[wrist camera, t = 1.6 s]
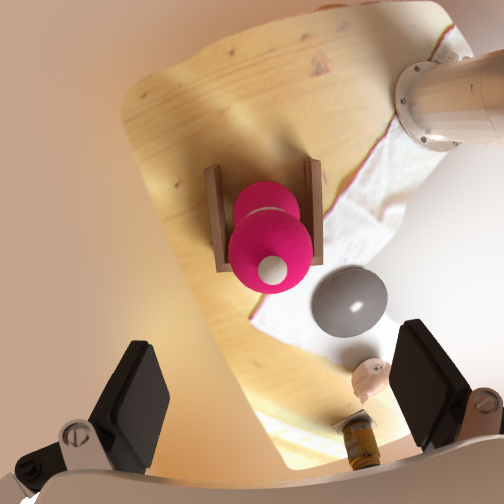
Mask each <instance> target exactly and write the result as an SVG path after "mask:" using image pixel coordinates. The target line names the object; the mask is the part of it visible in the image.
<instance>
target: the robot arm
mask: <svg viewBox="0 0 504 504" xmlns="http://www.w3.org/2000/svg"><path fill="white" fill-rule="evenodd" d="M458 58H459V57H458V55H457V54H456V53H454V52H450V53H449V56H448V60H447V62H445V63H442V64H437V63H433V62H429V61H422V62H418V63H415V64H412V65H410V66H409V67H407V68H406V69H405V70H404V71H403V72H402V73H401V75H400V76H399V78H398V81H397V83H396V88H395V105H396V110H397V114H398V117H399V119H400V122H401V124H402V126H403V127H404V129H405V131H406V132H407V134H408V135H409V136H410V137H411V138H412V139H413V140H414V141H415V142H416V143H417V144H419V145H420V146H422V147H423V148H425V149H427V150H430V151H434V152H449V151H452V150H454V149H456V148H458V147H459V146H460V145H461V144H462V143H463V142H465V143H477V144H485V145H494V146H501V147H504V49H502V50H498V51H494V52H491V53H487V54H483V55H479V56H476V57H472V58H470V57H467V56H464V57H463V59H462V61H458ZM457 61H458V62H457ZM400 100H401V102H402V103H401V102H400ZM421 139H422V141H421ZM389 384H390V387H391V389H392V391H393V393H394V395H395V397H396V400H397V402H398V404H399V406H400V408H401V411H402V413H403V415H404V417H405V420H406V422H407V424H408V427H409V429H410V431H411V434H412V436H413V438H414V441H415V443H416V445H417V446H418V447H421V448H422V451H423V453H422V454H419V455H416V456H412V457H409V458H405V459H402V460H398V461H395V462H391V463H387V464H383V465H379V466H375V467H370V468H366V469H361V470H356V471H351V472H345V473H339V474H333V475H327V476H320V477H312V478H304V479H293V480H282V481H263V482H212V481H196V480H183V479H173V478H163V477H156V476H148V475H145V471H146V468H150V466H151V463H152V460H153V456H154V453H155V449H156V446H157V442H158V439H159V435H160V432H161V428H162V425H163V421H164V418H165V415H166V411H167V408H168V404H169V401H170V395H169V391H168V389H167V386H166V383H165V380H164V378H163V375H162V372H161V369H160V367H159V363H158V360H157V357H156V354H155V352H154V348H153V346H152V345H151V344H148V342H147V341H137V340H134V341H131V343H130V344H129V346H128V348H127V350H126V351H125V353H124V355H123V357H122V359H121V361H120V363H119V364H118V366H117V368H116V370H115V371H114V373H113V374H112V376H111V377H110V379H109V381H108V383H107V385H106V387H105V388H104V390H103V392H102V394H101V396H100V398H99V400H98V402H97V404H96V406H95V408H94V409H93V411H92V413H91V415H90V418H89V419H88V421H86V420H81V419H77V420H72V421H70V422H68V423H66V424H65V425H64V426H63V427H62V428H61V430H60V432H59V435H58V439H59V441H58V442H57V443H54V444H51V445H49V446H47V447H44V448H42V449H39V450H37V451H34V452H32V453H30V454H27V455H25V456H23V457H21V458H20V459H19V460H18V461H17V463H16V465H15V474H11V473H9V474H7V475H6V476H5V477H3V478H2V479H1V480H0V504H504V407H503V401H502V398H501V396H500V395H499V394H498V393H497V392H496V391H494V390H493V389H490V388H478V389H476V390H474V391H472V389H471V388H470V386H469V384H468V383H467V381H466V380H465V378H464V377H463V376H462V374H461V373H460V371H459V370H458V368H457V367H456V366H455V364H454V363H453V362H452V360H451V359H450V357H449V356H448V355H447V353H446V352H445V351H444V349H443V348H442V347H441V346H440V344H439V343H438V342H437V340H436V339H435V338H434V337H433V335H432V334H431V332H430V331H429V330H428V329H427V327H426V326H425V325H424V324H423V323H422V321H421V320H420V319H414V320H408V321H405V322H404V324H403V325H401V326H400V329H399V334H398V339H397V344H396V348H395V353H394V357H393V361H392V365H391V369H390V373H389ZM135 473H137V474H135ZM141 474H143V475H141Z"/></svg>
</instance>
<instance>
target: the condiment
mask: <svg viewBox="0 0 504 504" xmlns="http://www.w3.org/2000/svg"><path fill="white" fill-rule="evenodd" d="M332 427H333V428H334V429H335V430H336V431H337V432H338V433H340V434H341V435H342V436H343V437H344V443H345V447H346V450H347V455H348V459H349V464H350V466H351V467H352V468H353V471H356V470H361V469H366V468H370V467H375V466H379V465H381V464H380V460H379V459H380V454H379V450H378V447H377V443H376V440H375V437H374V434H373V431H372V429H374V428H376V427H378V426H377V425H376V423H375V422H374V421H373V420H372V419H371V418H370V417H369V415H368V414H367V413H366V412H365V411H361V412H359V413H357V414H355V415H353V416H350V417H348V418H346V419H344V420H342V421H340V422H338V423H336V424H334V425H332Z"/></svg>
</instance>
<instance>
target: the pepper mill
mask: <svg viewBox="0 0 504 504" xmlns="http://www.w3.org/2000/svg"><path fill="white" fill-rule="evenodd" d="M233 223H234V226H235V229H234V231H233V233H232V235H231V237H230V241H229V246H228V256H229V262H230V265H231V268H232V270H233V272H234V274H235V275H236V277H237V278H238V279H239V280H240V281H241V282H242V283H243V284H244V285H245V286H246V287H248V288H250V289H252V290H254V291H256V292H260V293H264V294H276V293H281V292H284V291H286V290H289V289H291V288H293V287H294V286H296V285H297V284H298V283H299V282H300V281H301V280H302V279H303V278H304V277H305V275H306V274H307V272H308V270H309V268H310V265H311V262H312V257H313V249H312V242H311V238H310V235H309V233H308V231H307V229H306V228H305V226H304V225H303V224H302V223H301V222H300V210H299V206H298V203H297V200H296V198H295V196H294V195H293V194H292V193H291V191H290V190H288V189H287V188H286V187H284V186H283V185H281V184H278V183H276V182H271V181H262V182H257V183H254V184H252V185H250V186H248V187H246V188H245V189H244V190H243V191H242V192H241V193H240V194H239V195H238V197H237V199H236V201H235V203H234V207H233Z"/></svg>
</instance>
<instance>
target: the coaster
mask: <svg viewBox="0 0 504 504" xmlns="http://www.w3.org/2000/svg"><path fill="white" fill-rule="evenodd" d="M387 298H388V297H387V290H386V287H385V285H384V283H383V281H382V280H381V279H380V278H379V277H378V276H377V275H376V274H375V273H373V272H371V271H369V270H365V269H360V268H353V269H347V270H343V271H341V272H339V273H337V274H335V275H333V276H332V277H330V278H329V279H328V280H327V281H326V282H325V283H324V284H323V285H322V286H321V287H320V289H319V290H318V292H317V294H316V297H315V300H314V306H313V310H314V316H315V319H316V322H317V324H318V325H319V327H320V328H321V329H322V330H323V331H324V332H326V333H327V334H329V335H332V336H335V337H341V338H347V337H353V336H357V335H360V334H362V333H364V332H366V331H368V330H369V329H371V328H372V327H373V326H374V325H375V324H376V323H377V322H378V321H379V320H380V318H381V317H382V315H383V313H384V311H385V309H386V305H387Z"/></svg>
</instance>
